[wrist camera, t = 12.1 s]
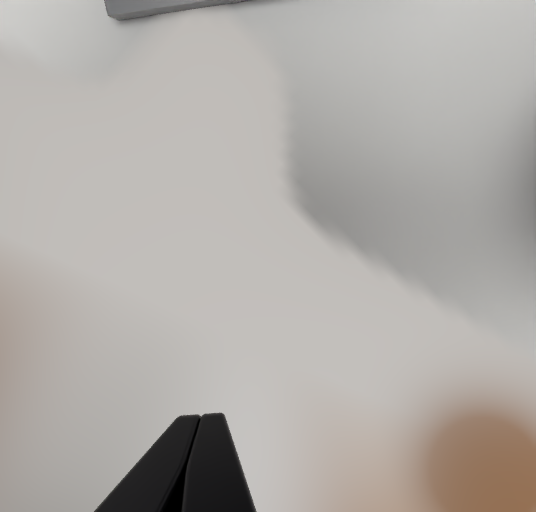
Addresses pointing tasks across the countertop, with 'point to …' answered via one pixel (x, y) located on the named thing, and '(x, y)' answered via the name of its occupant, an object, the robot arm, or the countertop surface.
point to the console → (155, 7)
